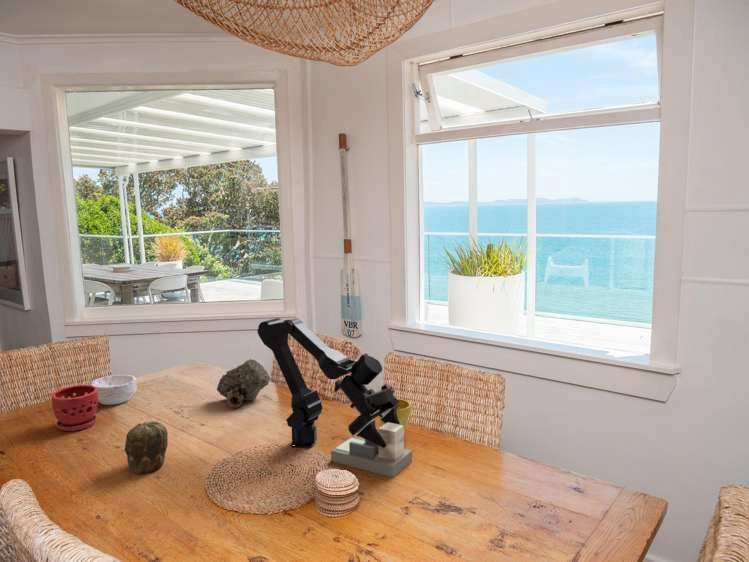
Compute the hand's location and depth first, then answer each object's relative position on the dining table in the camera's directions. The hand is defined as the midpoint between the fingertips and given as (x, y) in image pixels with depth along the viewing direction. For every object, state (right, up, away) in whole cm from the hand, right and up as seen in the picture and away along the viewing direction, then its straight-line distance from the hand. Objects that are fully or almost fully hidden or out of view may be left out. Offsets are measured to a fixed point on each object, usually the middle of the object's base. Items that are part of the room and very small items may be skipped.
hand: (393, 440), depth 145 cm
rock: (-54, -2, +52) cm, 75 cm away
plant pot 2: (+1, -5, +22) cm, 23 cm away
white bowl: (-101, -2, +55) cm, 115 cm away
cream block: (-1, -4, +1) cm, 4 cm away
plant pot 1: (-102, -5, +31) cm, 107 cm away
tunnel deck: (-6, -7, +4) cm, 10 cm away
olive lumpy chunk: (-67, -8, +3) cm, 67 cm away
